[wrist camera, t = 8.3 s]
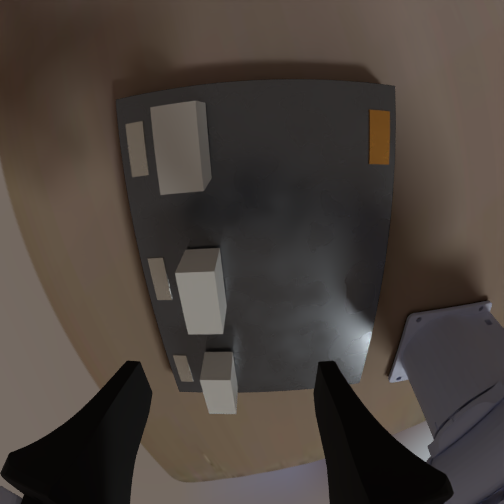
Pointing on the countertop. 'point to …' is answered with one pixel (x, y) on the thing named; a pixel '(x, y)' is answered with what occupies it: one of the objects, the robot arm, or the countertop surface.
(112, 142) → the countertop surface
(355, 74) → the countertop surface
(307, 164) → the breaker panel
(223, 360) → the block
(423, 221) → the countertop surface
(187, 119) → the block
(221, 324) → the block
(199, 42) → the countertop surface
